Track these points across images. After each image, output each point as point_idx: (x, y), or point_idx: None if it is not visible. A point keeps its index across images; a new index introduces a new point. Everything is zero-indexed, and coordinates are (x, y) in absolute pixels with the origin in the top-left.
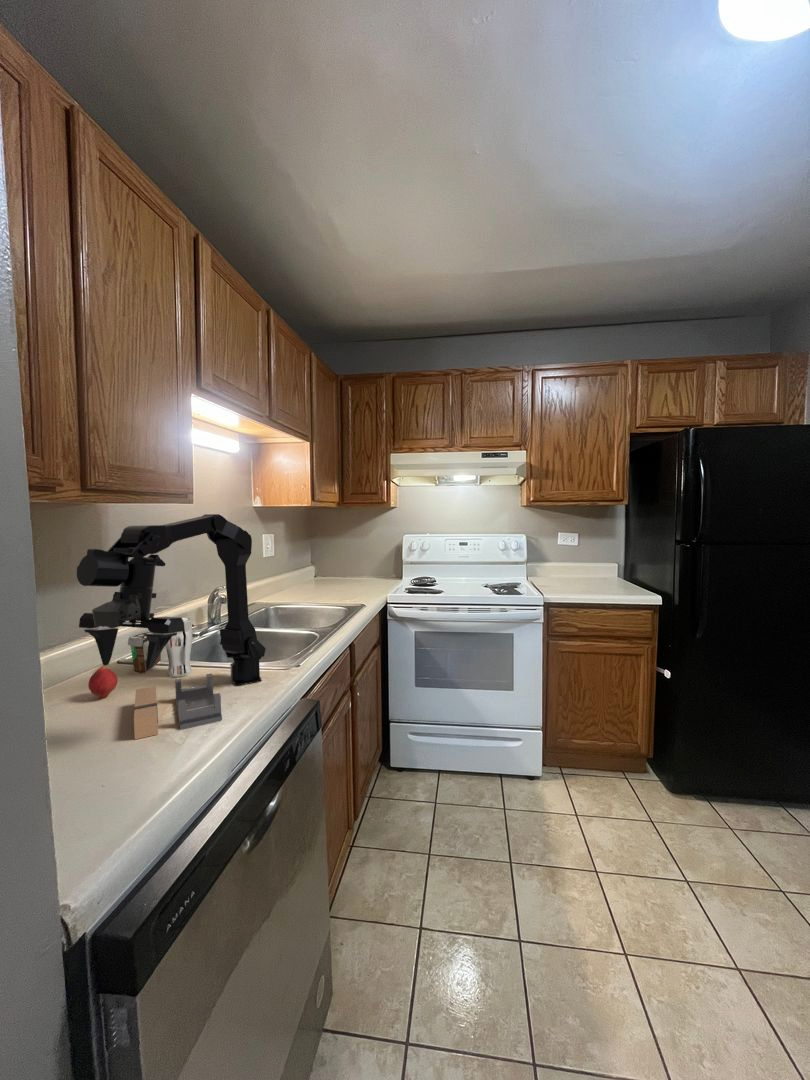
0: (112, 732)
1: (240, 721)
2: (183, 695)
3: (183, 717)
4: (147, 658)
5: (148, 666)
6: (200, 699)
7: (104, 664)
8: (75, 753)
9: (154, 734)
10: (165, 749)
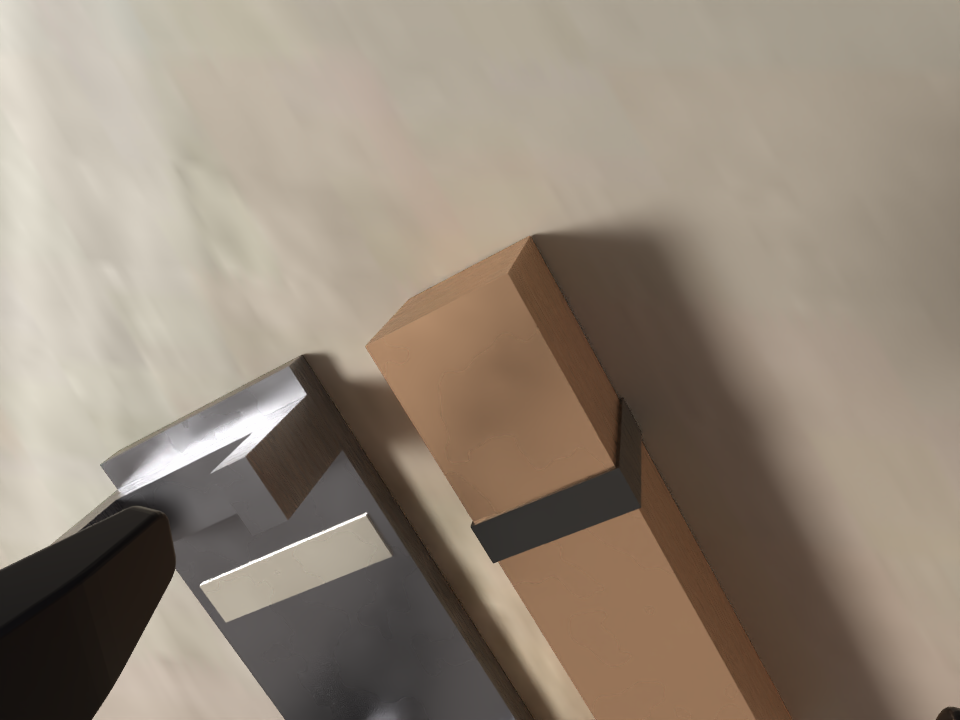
0: (763, 359)
1: (12, 430)
2: None
3: (274, 418)
4: (17, 612)
5: (106, 523)
6: (364, 712)
7: (957, 714)
8: (881, 42)
9: (425, 290)
10: (245, 89)
